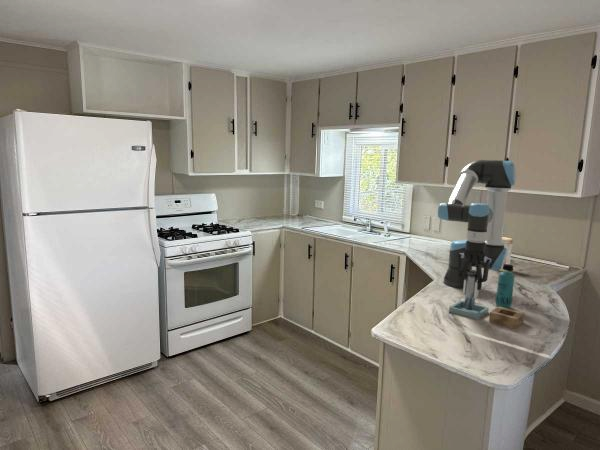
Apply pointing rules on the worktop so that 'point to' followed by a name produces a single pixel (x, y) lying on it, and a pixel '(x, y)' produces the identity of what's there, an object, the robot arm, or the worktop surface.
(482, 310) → the tray
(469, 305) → the steel pin
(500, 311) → the socket block
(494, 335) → the worktop surface
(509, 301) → the beverage bottle
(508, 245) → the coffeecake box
